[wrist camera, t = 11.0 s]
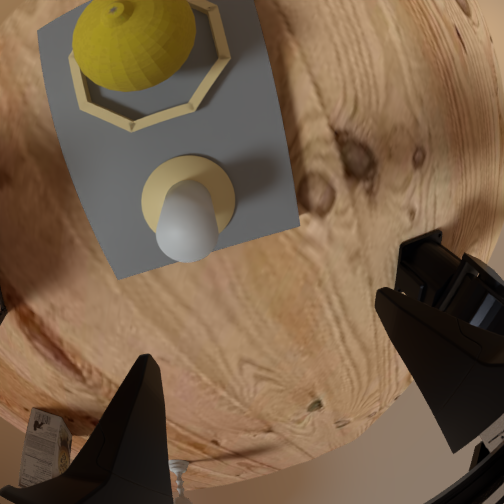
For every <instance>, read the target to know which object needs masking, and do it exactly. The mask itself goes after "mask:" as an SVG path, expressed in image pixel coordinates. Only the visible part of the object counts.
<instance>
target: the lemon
mask: <svg viewBox="0 0 504 504" xmlns="http://www.w3.org/2000/svg"><path fill="white" fill-rule="evenodd" d="M195 36H196V24H195V16H194V14H193V12H192V10H191V7H190V5H189V3H188V2H187V0H93V1H92V2H91V3H90V4H89V5H88V6H87V7H86V8H85V10H84V11H83V13H82V14H81V16H80V17H79V19H78V21H77V24H76V26H75V29H74V32H73V40H72V48H73V53H74V58H75V60H76V62H77V64H78V66H79V67H80V69H81V71H82V72H83V74H84V75H86V76H87V77H88V78H89V79H90V80H92V81H93V82H94V83H95V84H97V85H99V86H102V87H104V88H107V89H109V90H114V91H121V92H131V91H141V90H144V89H147V88H150V87H153V86H156V85H158V84H159V83H161V82H163V81H165V80H167V79H168V78H169V77H171V76H172V75H173V74H174V73H175V72H177V71H178V70H179V69H180V67H181V66H182V65H183V64H184V62H185V61H186V60H187V58H188V56H189V54H190V52H191V50H192V48H193V46H194V41H195Z"/></svg>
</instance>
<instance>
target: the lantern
mask: <svg viewBox="0 0 504 504" xmlns="http://www.w3.org/2000/svg"><path fill="white" fill-rule="evenodd" d="M7 313H8V312H7V309H6V306H5V305H4V300H3V296H2V292H1V287H0V325H1V323H2V321H3V320H4V318H5V316H6V314H7Z"/></svg>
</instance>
